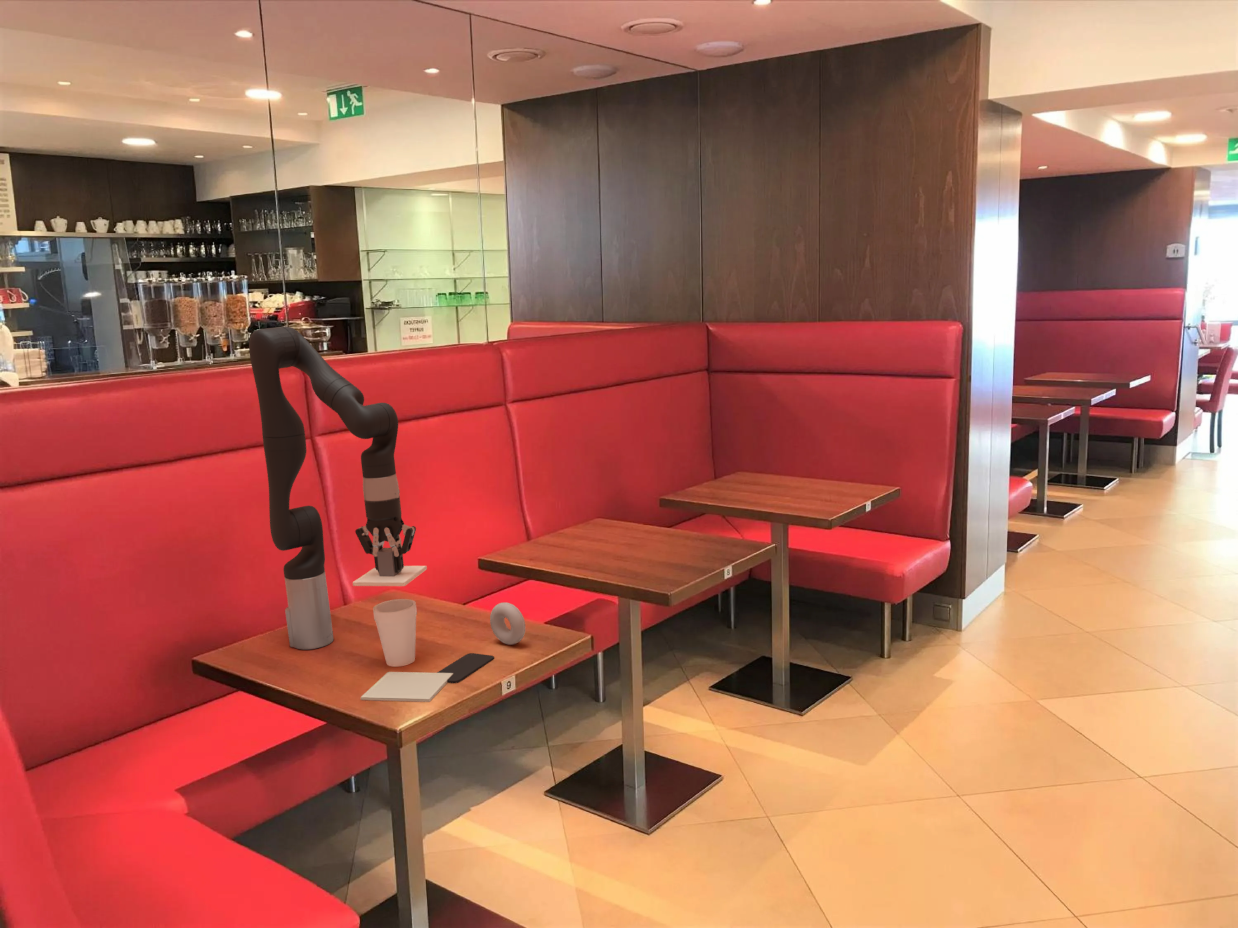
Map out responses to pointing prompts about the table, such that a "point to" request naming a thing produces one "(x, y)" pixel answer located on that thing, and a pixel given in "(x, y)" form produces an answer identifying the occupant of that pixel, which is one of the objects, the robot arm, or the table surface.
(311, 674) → the table surface
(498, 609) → the donut
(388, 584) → the lid
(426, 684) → the mat
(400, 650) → the foam cup
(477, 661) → the phone
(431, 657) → the table surface
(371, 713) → the table surface
